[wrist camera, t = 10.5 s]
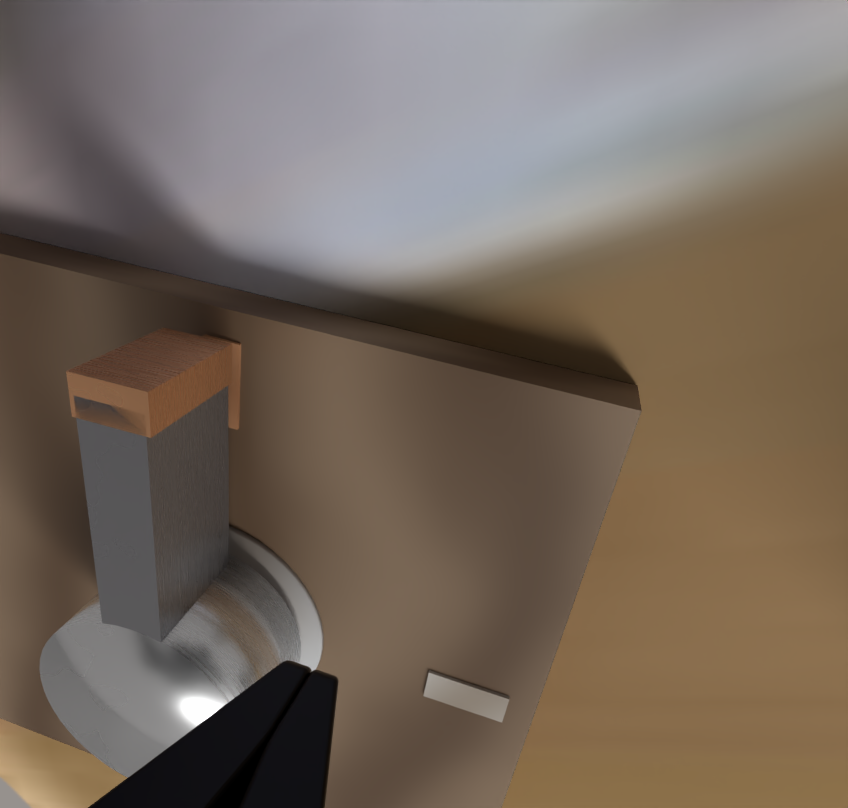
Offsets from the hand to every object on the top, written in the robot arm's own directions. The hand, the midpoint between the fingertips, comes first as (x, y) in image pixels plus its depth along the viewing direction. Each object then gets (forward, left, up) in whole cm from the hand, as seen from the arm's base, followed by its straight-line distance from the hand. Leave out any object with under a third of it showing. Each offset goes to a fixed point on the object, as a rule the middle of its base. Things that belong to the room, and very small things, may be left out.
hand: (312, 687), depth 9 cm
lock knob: (-6, -4, -6) cm, 10 cm away
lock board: (-6, -7, -8) cm, 13 cm away
